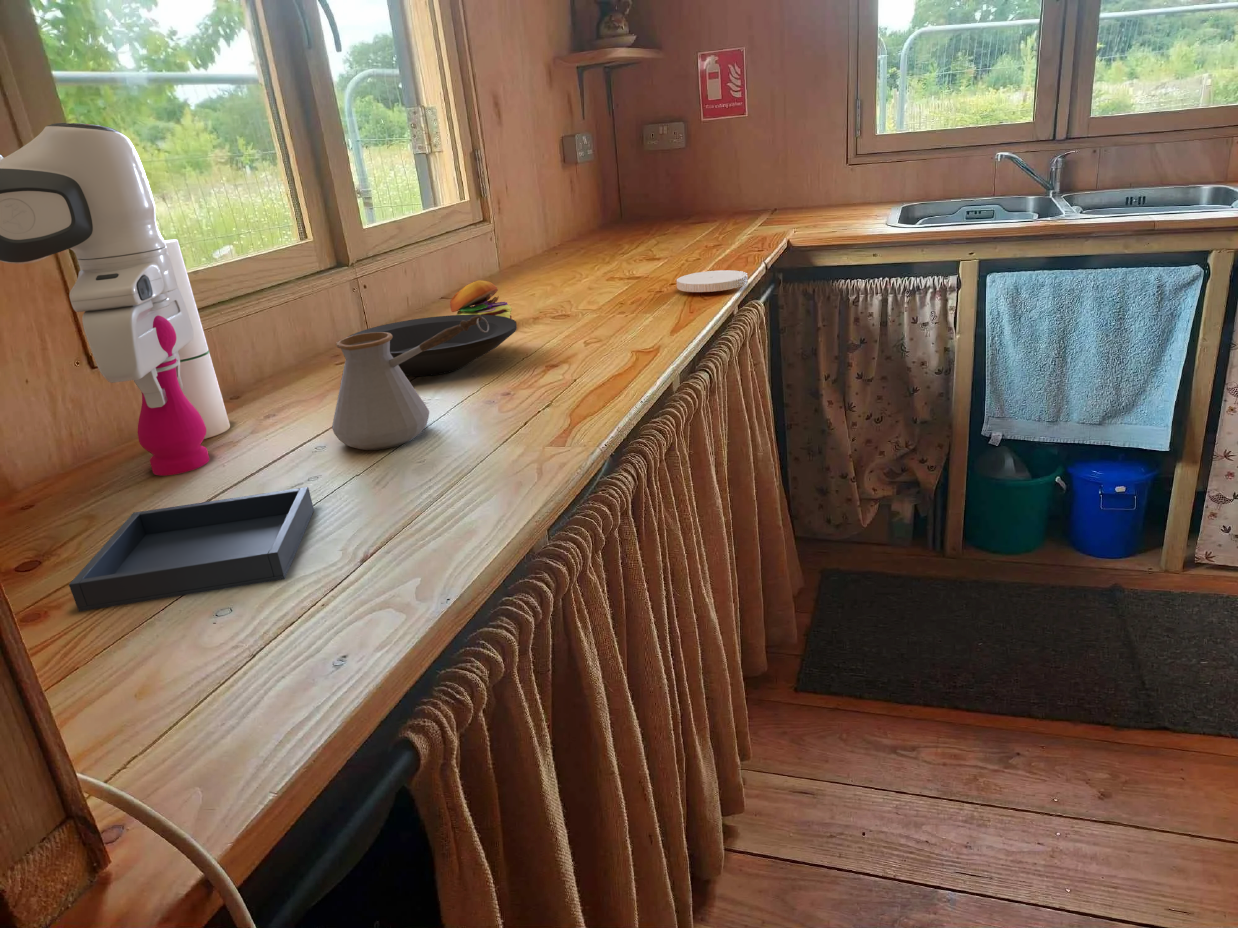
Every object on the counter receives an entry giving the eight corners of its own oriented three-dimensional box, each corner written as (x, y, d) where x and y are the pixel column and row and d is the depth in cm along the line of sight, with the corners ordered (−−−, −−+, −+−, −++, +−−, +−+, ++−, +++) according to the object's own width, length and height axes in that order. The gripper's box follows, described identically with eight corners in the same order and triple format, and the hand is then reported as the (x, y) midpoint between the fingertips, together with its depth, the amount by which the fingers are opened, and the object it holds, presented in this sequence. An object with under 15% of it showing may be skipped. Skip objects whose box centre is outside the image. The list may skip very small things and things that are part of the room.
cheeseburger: (492, 337, 153) (472, 282, 150) (451, 348, 159) (431, 296, 157) (527, 322, 161) (508, 270, 158) (486, 334, 167) (467, 283, 165)
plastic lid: (669, 298, 170) (668, 285, 169) (687, 284, 182) (686, 271, 181) (740, 296, 165) (739, 282, 164) (753, 281, 178) (753, 269, 177)
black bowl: (315, 390, 132) (306, 354, 130) (397, 348, 153) (390, 317, 151) (482, 389, 123) (475, 351, 121) (544, 345, 144) (540, 312, 142)
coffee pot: (318, 459, 102) (288, 334, 97) (367, 426, 113) (342, 311, 107) (486, 460, 97) (464, 327, 91) (522, 424, 107) (504, 303, 101)
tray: (80, 616, 72) (68, 584, 71) (142, 539, 86) (133, 512, 84) (286, 583, 74) (277, 552, 73) (315, 513, 87) (308, 486, 86)
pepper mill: (148, 465, 106) (101, 301, 99) (212, 452, 109) (171, 292, 102) (148, 483, 100) (98, 310, 93) (216, 469, 103) (173, 299, 96)
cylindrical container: (221, 422, 121) (169, 238, 112) (238, 432, 116) (184, 240, 106) (167, 437, 117) (108, 248, 108) (181, 448, 112) (121, 250, 102)
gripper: (134, 269, 105) (167, 379, 110) (60, 299, 87) (104, 429, 92) (188, 263, 106) (218, 372, 111) (127, 291, 87) (166, 421, 92)
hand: (166, 398), depth 101 cm, fingers closed on pepper mill, 4 cm apart
